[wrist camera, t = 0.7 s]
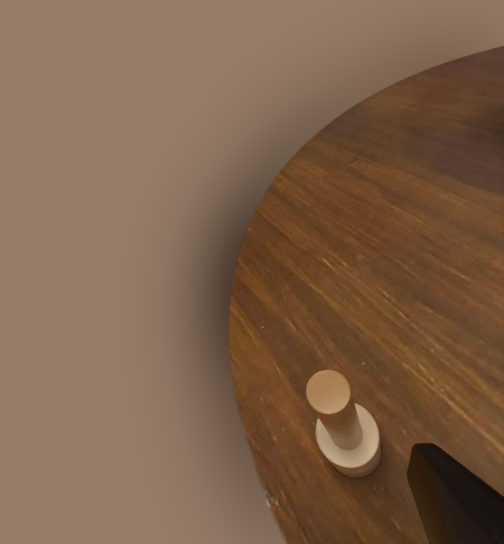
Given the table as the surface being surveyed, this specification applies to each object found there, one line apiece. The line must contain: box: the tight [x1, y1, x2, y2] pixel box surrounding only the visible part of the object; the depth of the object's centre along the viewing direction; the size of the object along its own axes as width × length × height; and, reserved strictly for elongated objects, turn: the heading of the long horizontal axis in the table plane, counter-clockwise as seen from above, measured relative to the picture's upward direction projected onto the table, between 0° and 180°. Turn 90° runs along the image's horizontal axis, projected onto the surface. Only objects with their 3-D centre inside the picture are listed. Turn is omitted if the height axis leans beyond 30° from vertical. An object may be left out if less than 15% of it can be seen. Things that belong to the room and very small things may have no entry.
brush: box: [306, 370, 381, 477], centre depth 17 cm, size 3×3×11 cm
